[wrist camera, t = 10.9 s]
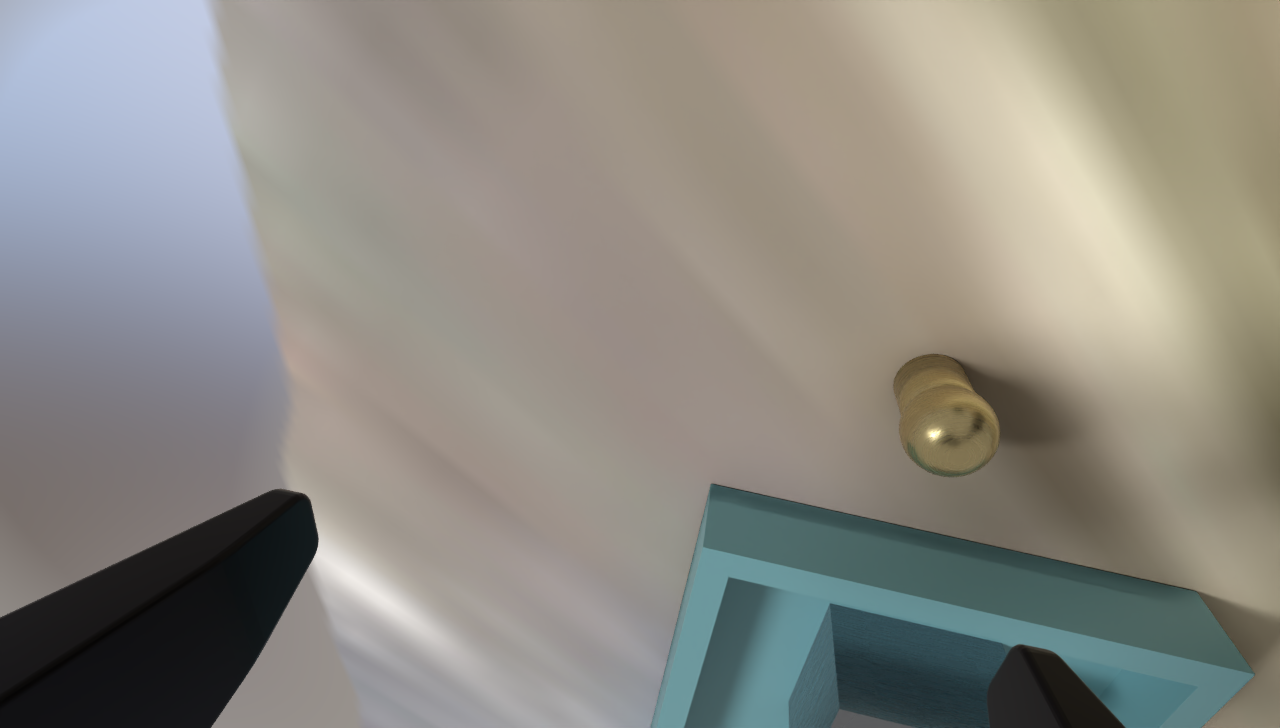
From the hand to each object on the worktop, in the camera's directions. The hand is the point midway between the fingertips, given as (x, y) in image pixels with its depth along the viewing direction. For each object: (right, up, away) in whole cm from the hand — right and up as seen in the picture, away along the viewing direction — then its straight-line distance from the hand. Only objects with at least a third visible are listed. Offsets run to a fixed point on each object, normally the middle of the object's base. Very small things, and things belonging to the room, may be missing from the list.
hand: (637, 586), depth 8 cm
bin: (+9, -13, +19) cm, 25 cm away
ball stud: (+9, +2, +11) cm, 14 cm away
